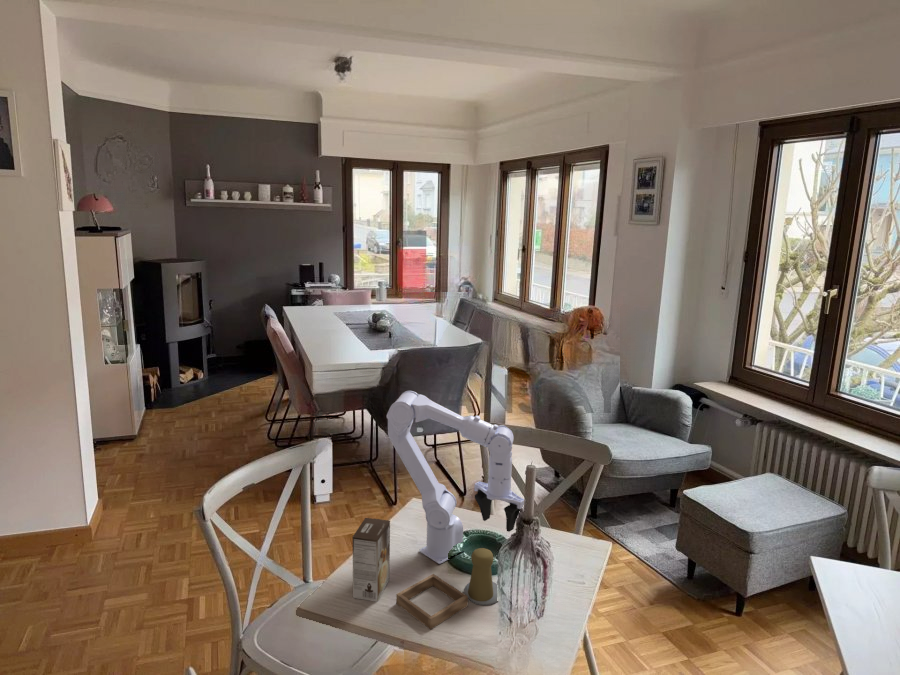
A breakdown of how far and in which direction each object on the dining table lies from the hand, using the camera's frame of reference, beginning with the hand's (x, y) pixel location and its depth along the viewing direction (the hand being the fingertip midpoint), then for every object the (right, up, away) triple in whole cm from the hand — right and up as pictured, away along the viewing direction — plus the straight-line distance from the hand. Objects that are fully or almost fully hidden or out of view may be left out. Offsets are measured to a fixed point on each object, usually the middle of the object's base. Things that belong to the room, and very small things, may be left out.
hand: (498, 524), depth 157 cm
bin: (-16, -14, -15) cm, 26 cm away
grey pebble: (-4, -13, -11) cm, 17 cm away
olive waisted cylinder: (-5, -13, -11) cm, 18 cm away
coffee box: (-31, -12, -10) cm, 35 cm away
